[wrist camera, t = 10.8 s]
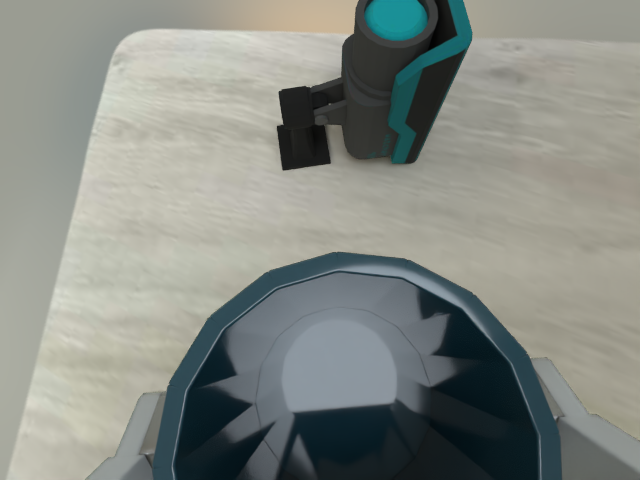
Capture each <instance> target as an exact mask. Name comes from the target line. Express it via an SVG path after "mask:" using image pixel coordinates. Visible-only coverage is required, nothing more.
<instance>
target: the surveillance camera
mask: <svg viewBox="0 0 640 480" xmlns="http://www.w3.org/2000/svg"><path fill="white" fill-rule="evenodd" d="M471 41H472V30H471V26H470V23H469V19H468V16H467V12H466V9H465V6H464V2H463V0H359V1H358V4H357V7H356V12H355V27H354V34H352V35H351V36H350V37H348V38H347V39H346V40H345V42H344V44H343V46H342V71H341V78H338V79H335V80H332V81H329V82H326V83H323V84H320V85H316V86H312V87H311V88H310V87H306V86H302V87H295V88H289V89H282V91H279V100H280V107H281V113H282V119H283V124H284V125H280V126H277V131H278V139H279V146H280V154H281V161H282V169H283V170H289V169H296V168H303V167H309V166H316V165H323V164H330V156H329V150H328V144H327V138H326V132H325V126H324V124H326V125H342V129H343V135H344V141H345V146H346V149H347V151H348V152H349V153H350V154H351V155H352V156H353V157H356V158H358V159H369V158H376V157H383V156H390V157H391V161H392V163H413V162H415V161H416V160H417V158H418V156H419V154H420V151H421V149H422V147H423V145H424V143H425V141H426V138H427V136H428V134H429V132H430V130H431V128H432V125H433V123H434V121H435V119H436V117H437V115H438V112H439V110H440V108H441V106H442V104H443V102H444V100H445V97H446V95H447V93H448V91H449V89H450V87H451V84H452V82H453V80H454V78H455V76H456V74H457V71H458V69H459V67H460V65H461V63H462V61H463V58H464V56H465V54H466V52H467V50H468V48H469V46H470V43H471ZM329 104H330V105H329Z"/></svg>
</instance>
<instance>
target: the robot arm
mask: <svg viewBox="0 0 640 480" xmlns="http://www.w3.org/2000/svg"><path fill="white" fill-rule="evenodd" d="M531 362H532V364H533V367H534V369H535V372H536V374H537V377H538V379H539V382H540V384H541V387H542V389H543V392H544V394H545V396H546V399H547V401H548V404H549V406H550V409H551V411H552V414H553V416H554V419H555V421H556V424H557V426H558V429H559V431H560V433H559V434H560V436H561V461H562V480H640V441H638V440H637V439H635V438H634V437H632V436H630V435H629V434H627V433H626V432H624V431H622V430H621V429H619V428H618V427H616V426H614V425H613V424H611V423H610V422H608V421H606V420H605V419H603V418H602V417H600V416H598V415H597V414H589V413H588V411H587V410H586V409H585V407H584V406H583V404H582V403H581V402H580V400H579V399H578V397H577V396H576V395H575V393H574V392H573V391H572V389H571V388H570V386H569V385H568V384H567V382H566V381H565V379H564V378H563V377H562V375H561V374H560V372H559V371H558V370H557V368H556V367H555V366H554V364H553V363H552V361H551V360H549V359H548V358H547V357H545V358H534V359H531ZM166 392H167V391H165V392H153V393H143V394H142V396H141V397H140V398H139V399H138V401H137V404H136V406H135V408H134V411H133V413H132V416H131V418H130V420H129V423H128V425H127V428H126V430H125V432H124V435H123V437H122V440H121V442H120V444H119V447H118V449H117V451H116V454H115V456H114V457H109V458H107V459H106V460H105V461H104V462H103V463H102V464H101V465H100V466H99V467H98V468H97V469H95V470H94V471H93V472H92V473H91V474H90V475H89V476H88V477H87V478H86V479H85V480H153V475H152V468H153V467H152V463H153V458H154V453H155V448H156V443H157V437H158V432H159V427H160V422H161V417H162V412H163V407H164V402H165V397H166Z"/></svg>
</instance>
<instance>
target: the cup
mask: <svg viewBox="0 0 640 480" xmlns="http://www.w3.org/2000/svg"><path fill="white" fill-rule="evenodd" d="M169 384H170V385H168V387H167V392H166V397H165V402H164V407H163V412H162V417H161V422H160V427H159V432H158V437H157V443H156V448H155V453H154V458H153V463H152V467H153V468H152V475H153V480H562V461H561V436H560V434H559V433H560V431H559V429H558V426H557V424H556V421H555V419H554V416H553V414H552V411H551V409H550V406H549V404H548V401H547V399H546V396H545V394H544V392H543V389H542V387H541V384H540V382H539V379H538V377H537V374H536V372H535V369H534V367H533V364H532V362H531V359H530V357H529V355H528V354H527V352H526V351H525V349H524V348H523V347H522V346H521V345H520V344H519V343H518V342H517V341H516V339H515V338H514V337H513V336H512V335H511V334H510V333H509V332H508V331H507V329H506V328H505V327H504V326H503V325H502V324H501V323H500V322H499V321H498V319H497V318H496V317H495V316H494V315H493V314H492V313H491V312H490V311H489V309H488V308H487V307H486V306H485V305H484V304H483V303H482V302H481V301H480V299H479V298H478V297H477V296H476V295H473V293H472V292H470V291H468V290H467V289H465V288H463V287H461V286H459V285H457V284H455V283H453V282H451V281H449V280H447V279H445V278H443V277H442V276H440V275H438V274H436V273H434V272H432V271H430V270H428V269H426V268H424V267H422V266H420V265H418V264H416V263H415V262H413V261H411V260H407V259H404V258H395V257H385V256H376V255H366V254H357V253H347V252H337V253H336V252H332V253H329V254H325V255H322V256H318V257H315V258H311V259H308V260H304V261H301V262H297V263H294V264H290V265H287V266H283V267H280V268H276V269H273V270H270V271H269V273H268V272H266V273H265V274H263V275H262V276H261V277H259V278H258V279H257V280H255V281H254V282H253V283H252V284H250V285H249V286H248V287H246V288H245V289H244V290H243V291H241V292H240V293H239V294H237V295H236V296H235V297H233V298H232V299H231V300H230V301H228V302H227V303H226V304H224V305H223V306H222V307H221V308H219V309H218V310H217V311H215V312H214V313H213V314H211V316H210V317H209V318H208V319H207V321H206V322H205V324H204V326H203V327H202V329H201V331H200V332H199V334H198V335H197V337H196V339H195V340H194V342H193V344H192V345H191V347H190V349H189V350H188V352H187V354H186V355H185V357H184V358H183V360H182V362H181V363H180V365H179V367H178V368H177V370H176V372H175V373H174V375H173V377H172V378H171V380H170V382H169Z"/></svg>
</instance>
